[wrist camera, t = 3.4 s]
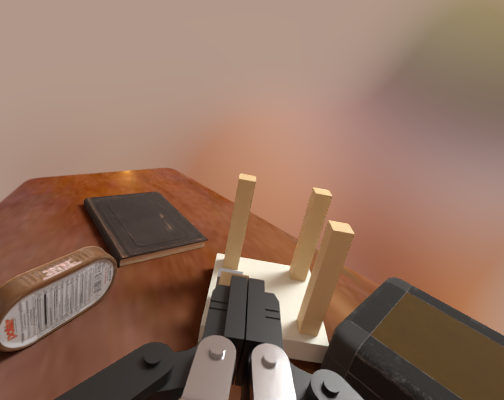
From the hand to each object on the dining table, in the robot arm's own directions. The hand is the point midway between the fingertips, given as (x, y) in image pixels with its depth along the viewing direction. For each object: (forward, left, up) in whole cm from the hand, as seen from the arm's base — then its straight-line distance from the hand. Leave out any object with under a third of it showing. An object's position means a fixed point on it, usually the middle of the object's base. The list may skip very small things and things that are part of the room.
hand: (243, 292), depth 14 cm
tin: (-25, -4, -23) cm, 34 cm away
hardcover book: (-45, +13, -23) cm, 52 cm away
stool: (-16, +20, -23) cm, 34 cm away
